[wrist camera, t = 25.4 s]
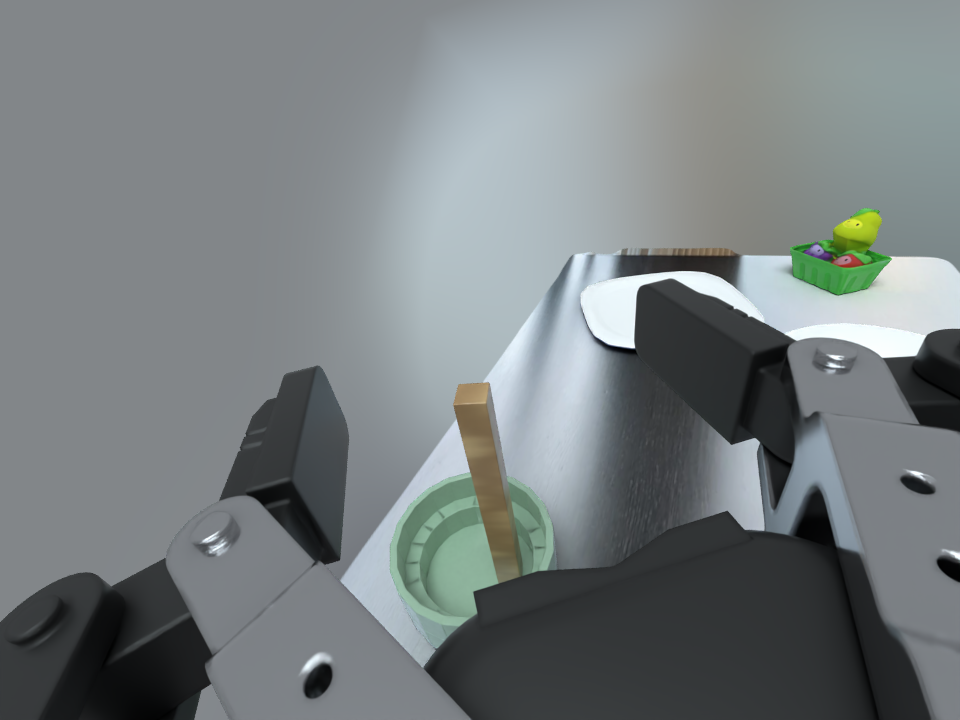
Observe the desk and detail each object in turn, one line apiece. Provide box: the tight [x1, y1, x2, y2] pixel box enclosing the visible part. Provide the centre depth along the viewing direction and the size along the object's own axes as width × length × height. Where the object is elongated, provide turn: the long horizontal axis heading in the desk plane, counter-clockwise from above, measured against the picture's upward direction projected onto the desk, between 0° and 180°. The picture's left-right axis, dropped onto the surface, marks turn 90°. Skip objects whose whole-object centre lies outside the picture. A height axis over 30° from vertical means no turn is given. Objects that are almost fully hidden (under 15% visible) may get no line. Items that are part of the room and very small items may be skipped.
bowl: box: [785, 324, 926, 358], centre depth 41 cm, size 18×18×7 cm
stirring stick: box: [453, 382, 523, 583], centre depth 30 cm, size 2×2×20 cm
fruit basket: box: [790, 208, 892, 295], centre depth 65 cm, size 11×9×11 cm
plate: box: [581, 271, 765, 349], centre depth 68 cm, size 25×25×2 cm
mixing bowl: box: [390, 473, 557, 649], centre depth 35 cm, size 13×13×6 cm
